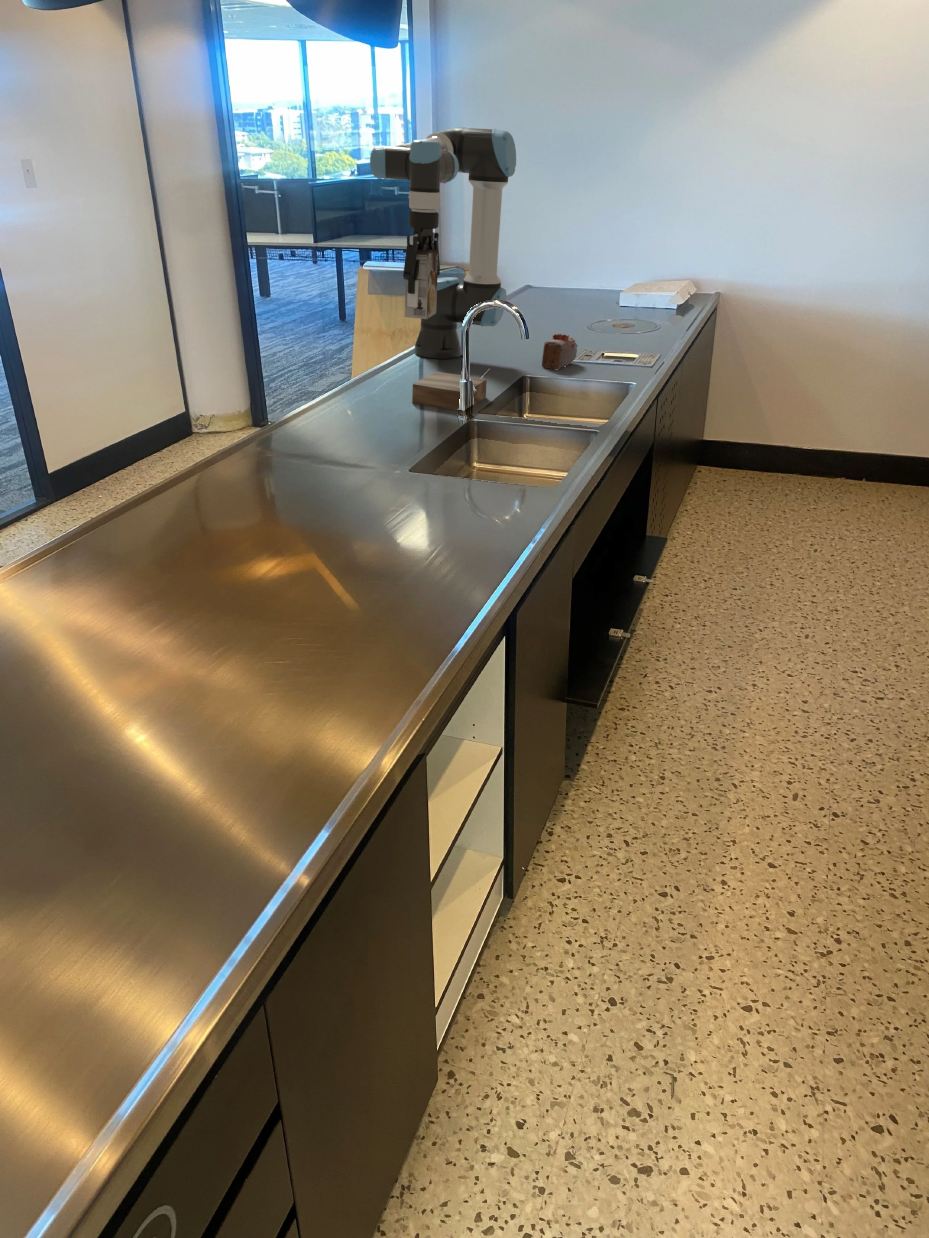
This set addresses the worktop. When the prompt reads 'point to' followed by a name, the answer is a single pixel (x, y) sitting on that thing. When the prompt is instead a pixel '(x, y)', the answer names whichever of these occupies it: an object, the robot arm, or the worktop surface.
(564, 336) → the food item
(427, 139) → the robot arm
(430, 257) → the coffee box
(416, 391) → the walnut base
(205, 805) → the worktop surface
